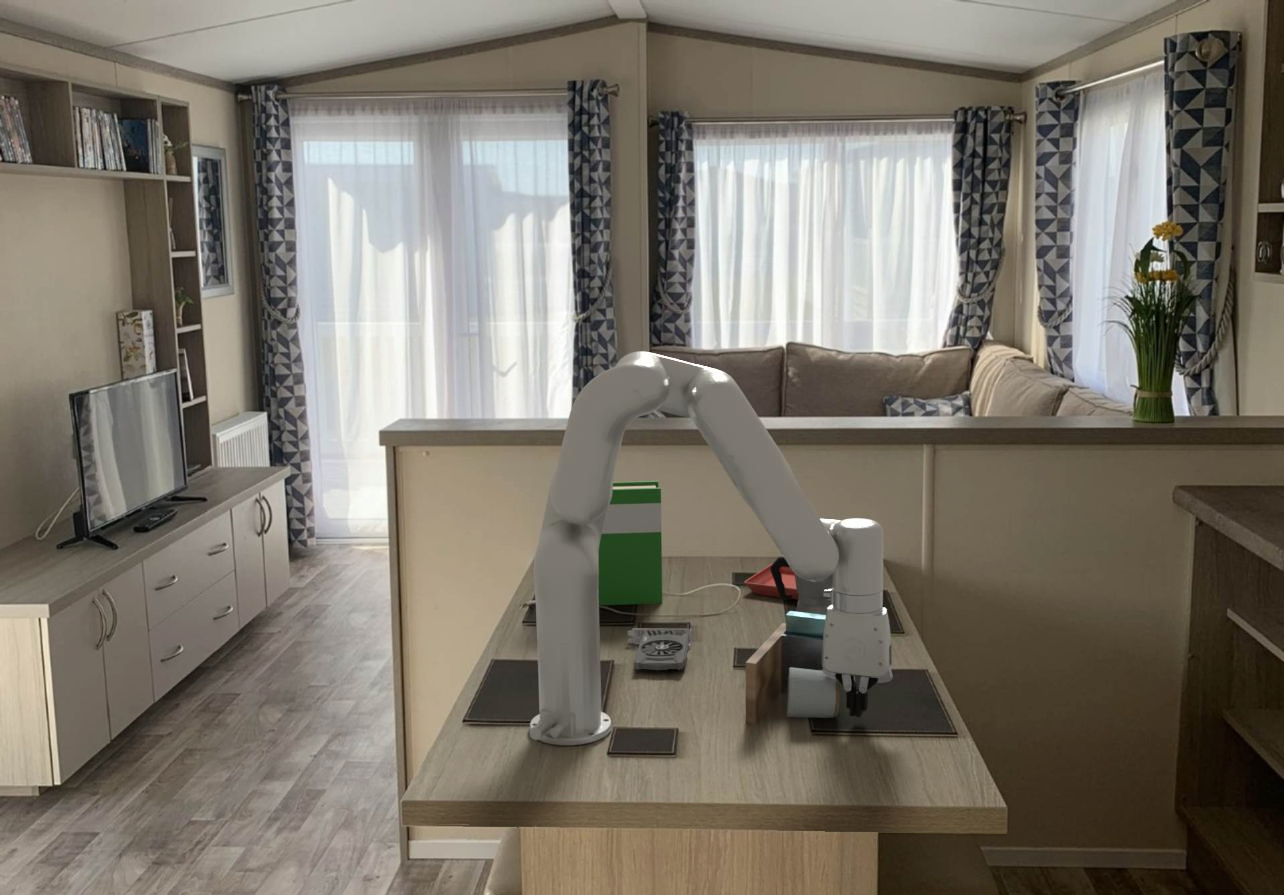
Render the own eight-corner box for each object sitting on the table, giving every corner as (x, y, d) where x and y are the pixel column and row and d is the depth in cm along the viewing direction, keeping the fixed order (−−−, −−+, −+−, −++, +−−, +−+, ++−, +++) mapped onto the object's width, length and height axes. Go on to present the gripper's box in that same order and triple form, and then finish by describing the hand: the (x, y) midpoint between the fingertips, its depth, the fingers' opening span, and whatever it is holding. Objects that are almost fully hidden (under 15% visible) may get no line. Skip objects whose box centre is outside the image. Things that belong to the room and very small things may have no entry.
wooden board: (755, 724, 193) (755, 663, 191) (745, 723, 193) (745, 662, 192) (791, 680, 211) (791, 623, 209) (782, 678, 211) (782, 622, 210)
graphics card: (628, 626, 230) (692, 626, 229) (629, 645, 231) (693, 645, 230) (617, 659, 214) (686, 659, 213) (618, 680, 215) (687, 680, 213)
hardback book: (659, 592, 261) (657, 480, 256) (662, 603, 254) (660, 488, 249) (575, 595, 260) (572, 483, 255) (575, 606, 252) (572, 490, 248)
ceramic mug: (840, 725, 192) (841, 677, 191) (787, 724, 193) (787, 677, 191) (835, 700, 202) (836, 655, 201) (785, 699, 203) (785, 654, 202)
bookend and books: (828, 699, 202) (829, 623, 200) (781, 692, 205) (781, 617, 203) (837, 686, 208) (838, 612, 205) (791, 680, 211) (791, 607, 208)
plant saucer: (742, 596, 259) (742, 580, 258) (776, 573, 274) (776, 559, 273) (824, 608, 250) (825, 592, 249) (854, 584, 265) (855, 569, 265)
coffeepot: (841, 625, 239) (843, 534, 235) (857, 641, 229) (859, 547, 226) (763, 630, 236) (764, 538, 233) (776, 646, 227) (777, 551, 224)
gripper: (803, 602, 189) (803, 716, 192) (901, 612, 183) (900, 729, 186) (816, 588, 195) (816, 698, 199) (911, 597, 190) (910, 710, 193)
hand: (857, 713), depth 192 cm, fingers closed
